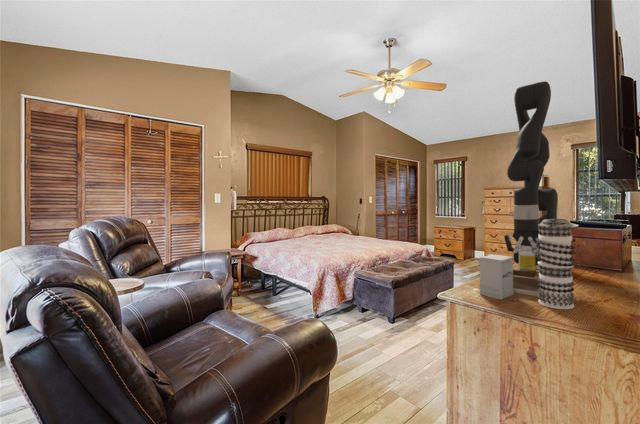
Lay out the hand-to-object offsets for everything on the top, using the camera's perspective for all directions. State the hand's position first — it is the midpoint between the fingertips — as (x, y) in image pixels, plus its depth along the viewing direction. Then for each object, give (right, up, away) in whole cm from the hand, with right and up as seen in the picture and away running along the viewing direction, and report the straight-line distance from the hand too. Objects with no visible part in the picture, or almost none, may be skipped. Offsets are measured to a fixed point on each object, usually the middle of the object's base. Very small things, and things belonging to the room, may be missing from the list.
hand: (527, 263), depth 109 cm
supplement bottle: (0, -3, 0) cm, 3 cm away
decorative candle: (-5, -9, -20) cm, 22 cm away
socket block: (-6, -8, -6) cm, 11 cm away
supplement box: (-17, -9, -10) cm, 21 cm away
